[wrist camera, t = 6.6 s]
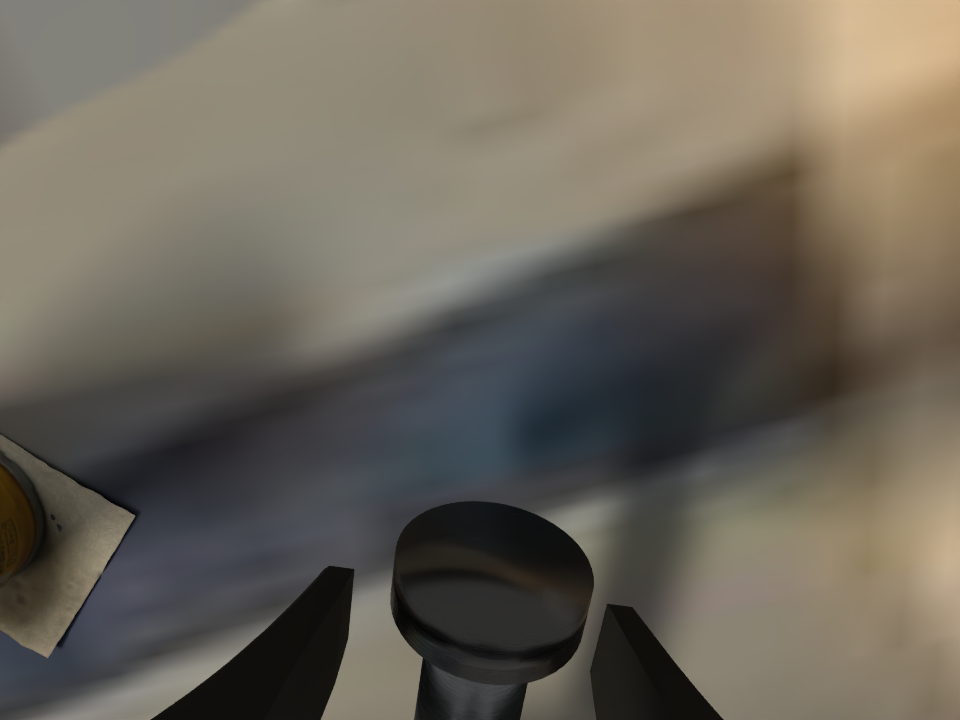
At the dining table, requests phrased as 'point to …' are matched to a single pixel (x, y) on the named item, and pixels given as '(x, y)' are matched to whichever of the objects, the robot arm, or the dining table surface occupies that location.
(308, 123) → the dining table surface
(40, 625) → the condiment
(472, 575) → the shaft
